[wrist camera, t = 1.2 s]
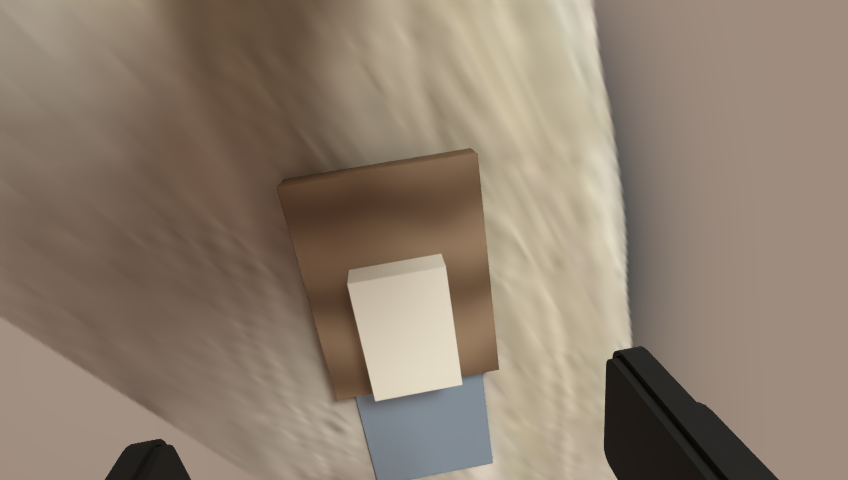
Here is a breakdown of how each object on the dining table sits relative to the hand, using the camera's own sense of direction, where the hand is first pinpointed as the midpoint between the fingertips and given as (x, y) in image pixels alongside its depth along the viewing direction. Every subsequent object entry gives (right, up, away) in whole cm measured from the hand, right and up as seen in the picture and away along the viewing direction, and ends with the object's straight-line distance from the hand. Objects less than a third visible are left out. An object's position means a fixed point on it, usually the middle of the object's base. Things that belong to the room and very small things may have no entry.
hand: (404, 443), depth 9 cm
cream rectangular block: (-1, -1, +20) cm, 20 cm away
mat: (+1, -11, +26) cm, 28 cm away
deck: (-1, +2, +21) cm, 21 cm away
